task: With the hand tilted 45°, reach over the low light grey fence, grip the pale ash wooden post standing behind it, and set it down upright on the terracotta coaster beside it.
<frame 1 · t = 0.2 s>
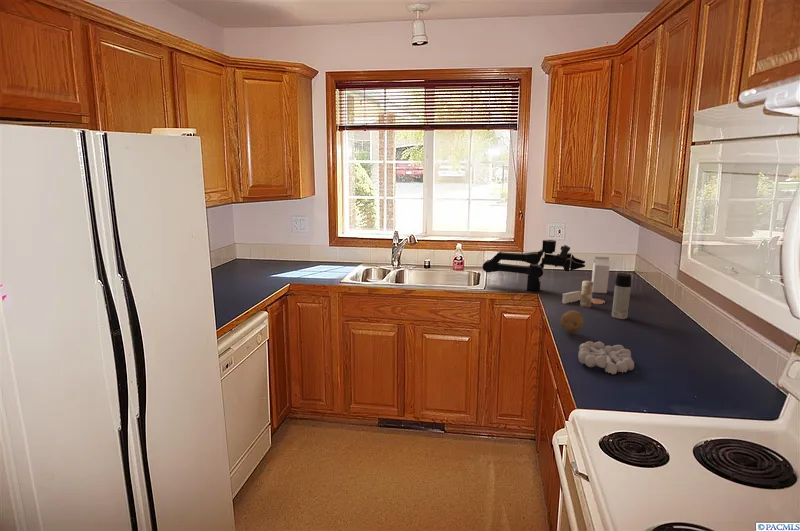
hand: (585, 264, 276), 16 cm above the counter, tool horizontal, fingers open, 9 cm apart
ash post: (585, 305, 260), on the counter
grey fence: (571, 301, 267), on the counter
terracotta coaster: (595, 301, 267), on the counter
natural sponge: (570, 334, 220), on the counter
milk carton: (598, 291, 287), on the counter
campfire: (604, 364, 190), on the counter
spray can: (619, 317, 243), on the counter
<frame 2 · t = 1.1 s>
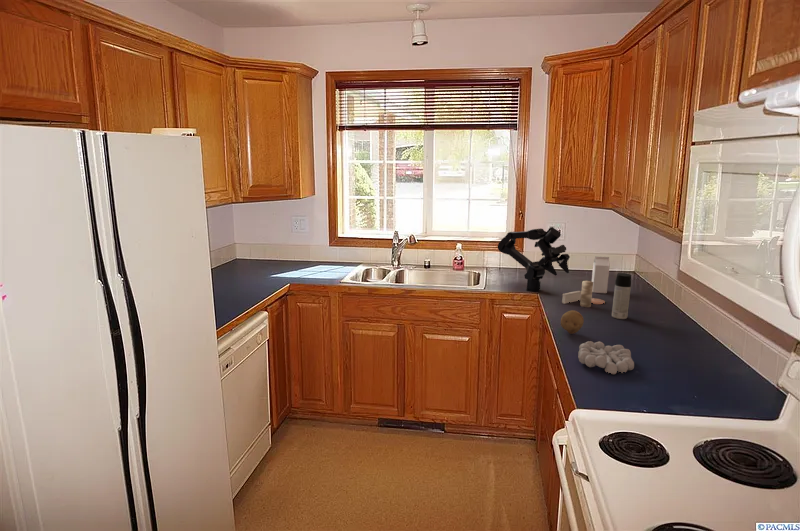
hand: (562, 273, 270), 13 cm above the counter, tool tilted 45°, fingers open, 9 cm apart
nothing on the counter moved.
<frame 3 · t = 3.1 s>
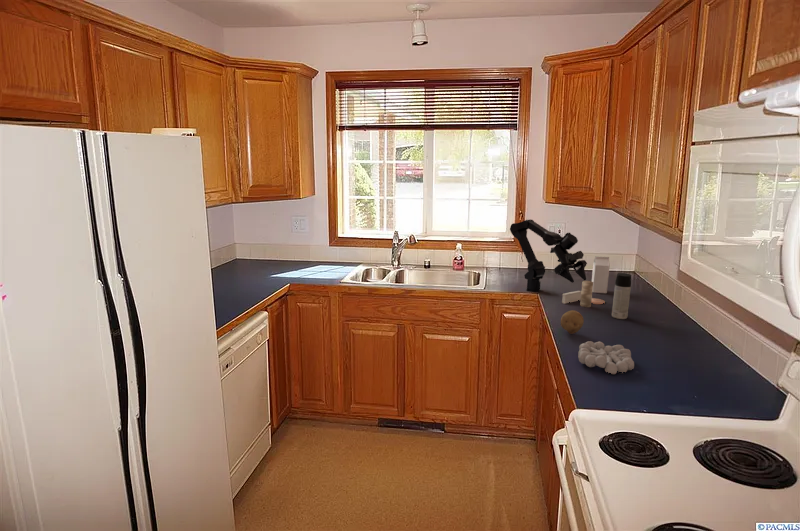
hand: (579, 281, 261), 11 cm above the counter, tool tilted 45°, fingers open, 9 cm apart
nothing on the counter moved.
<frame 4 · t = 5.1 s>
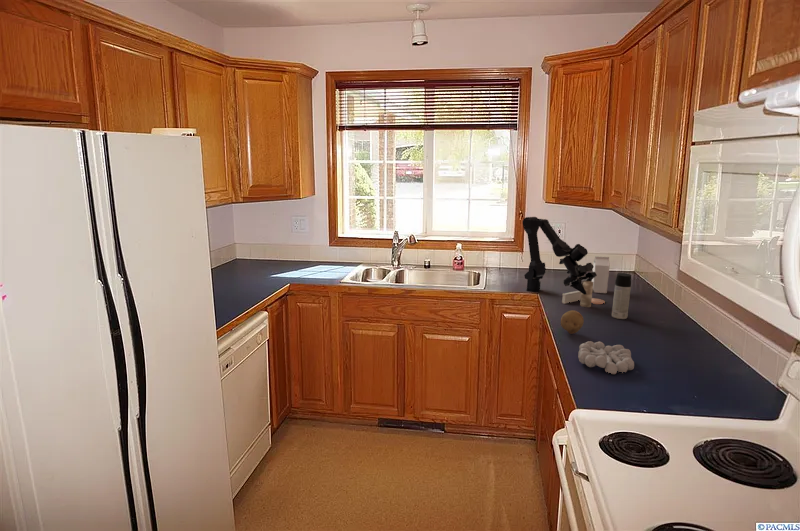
hand: (589, 293, 257), 7 cm above the counter, tool tilted 45°, fingers closed on ash post, 5 cm apart
ash post: (585, 305, 260), on the counter, touching gripper
everything else where it was.
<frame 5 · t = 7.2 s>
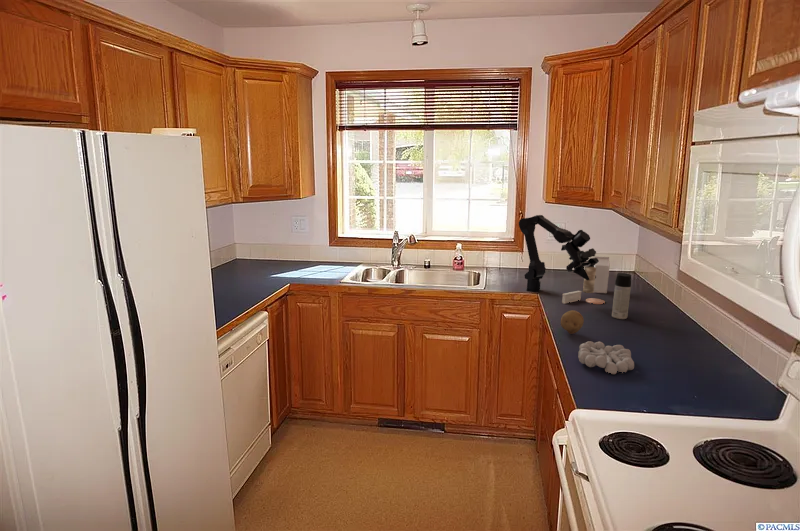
hand: (591, 279, 256), 13 cm above the counter, tool tilted 45°, fingers closed on ash post, 5 cm apart
ash post: (588, 291, 259), point 7 cm above the counter, touching gripper
everything else where it was.
when the fingers open (9 cm above the counter, at t = 9.7 s): ash post drops 1 cm, resting on terracotta coaster.
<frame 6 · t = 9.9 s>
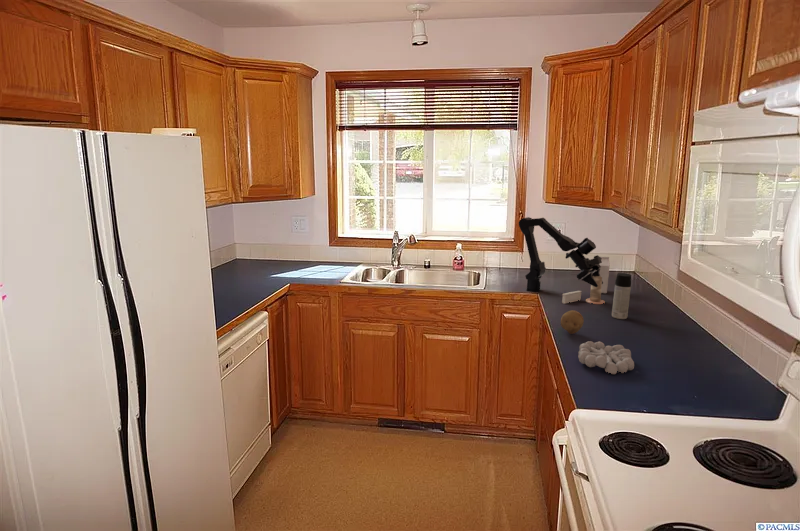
hand: (599, 285, 264), 9 cm above the counter, tool tilted 45°, fingers open, 7 cm apart
ash post: (595, 300, 267), point 1 cm above the counter, touching terracotta coaster
everything else where it was.
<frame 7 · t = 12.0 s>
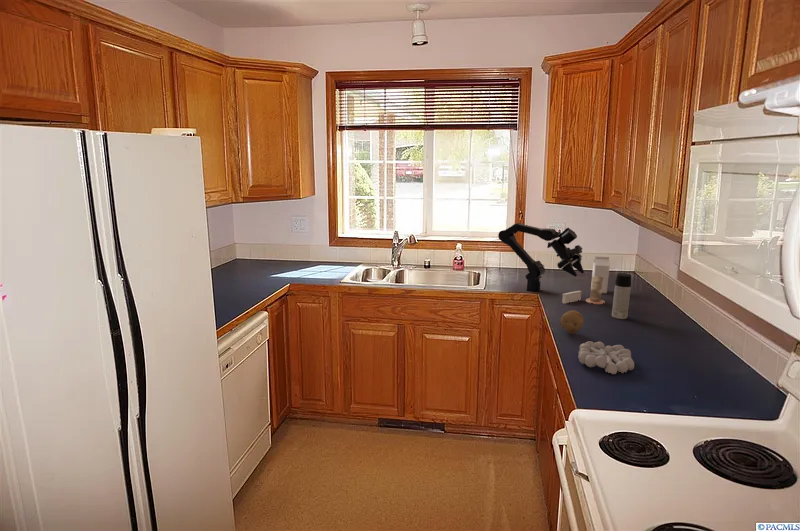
hand: (579, 274, 270), 13 cm above the counter, tool tilted 45°, fingers open, 9 cm apart
nothing on the counter moved.
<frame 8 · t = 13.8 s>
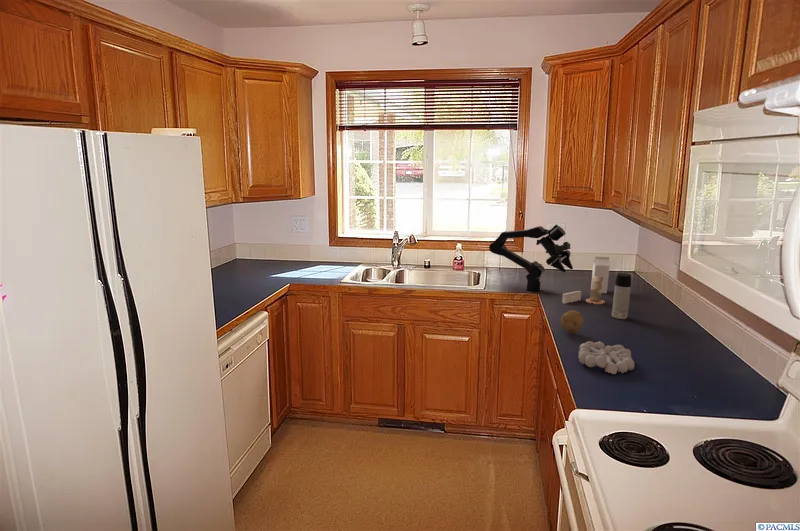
hand: (568, 270, 274), 14 cm above the counter, tool tilted 45°, fingers open, 9 cm apart
nothing on the counter moved.
at the end: ash post 0.1 cm from the terracotta coaster (horizontally); ash post tilted 0°; the gripper is holding nothing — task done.
